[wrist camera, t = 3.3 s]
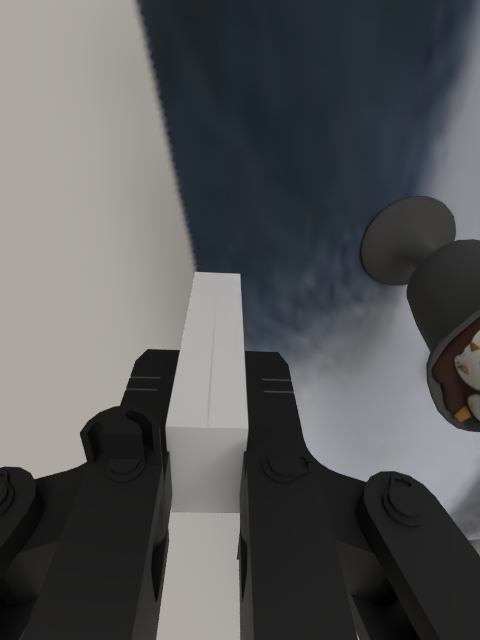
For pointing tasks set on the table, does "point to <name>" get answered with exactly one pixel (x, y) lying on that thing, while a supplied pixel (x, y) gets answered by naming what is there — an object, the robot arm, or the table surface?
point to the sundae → (435, 296)
